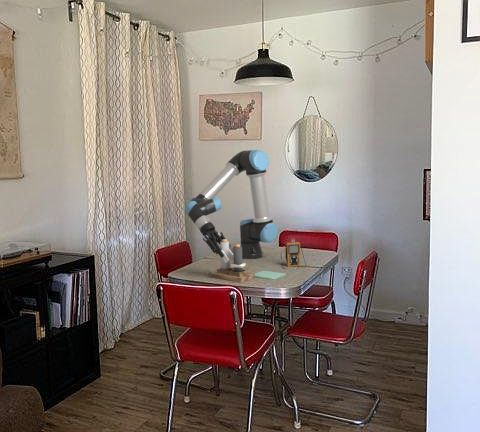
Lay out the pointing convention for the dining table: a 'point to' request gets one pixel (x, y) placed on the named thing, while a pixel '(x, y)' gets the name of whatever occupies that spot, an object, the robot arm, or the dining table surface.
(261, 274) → the green pad
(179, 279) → the dining table surface
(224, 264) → the white tall cylinder
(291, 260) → the multimeter
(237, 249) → the grey flanged cylinder
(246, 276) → the clamp board
